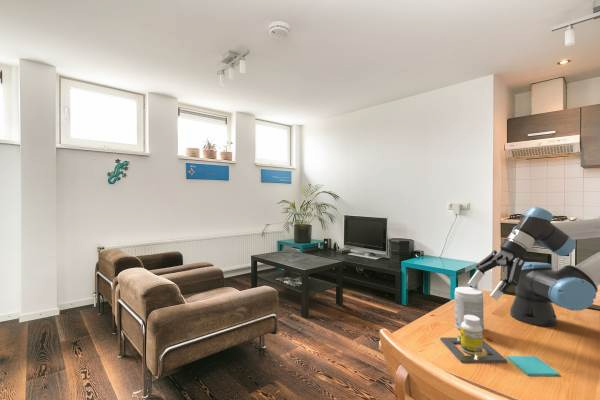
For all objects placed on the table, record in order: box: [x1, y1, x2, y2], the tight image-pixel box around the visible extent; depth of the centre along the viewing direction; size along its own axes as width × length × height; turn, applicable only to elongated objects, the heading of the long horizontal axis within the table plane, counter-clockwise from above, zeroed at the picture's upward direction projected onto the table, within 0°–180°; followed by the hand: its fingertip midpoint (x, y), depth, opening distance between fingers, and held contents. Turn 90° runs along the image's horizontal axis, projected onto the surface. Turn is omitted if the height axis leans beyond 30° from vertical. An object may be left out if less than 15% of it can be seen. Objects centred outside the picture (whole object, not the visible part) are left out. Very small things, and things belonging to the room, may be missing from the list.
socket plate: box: [439, 335, 508, 363], centre depth 99 cm, size 14×14×2 cm
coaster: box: [505, 355, 561, 377], centre depth 90 cm, size 9×9×1 cm
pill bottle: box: [460, 315, 484, 355], centre depth 99 cm, size 6×6×11 cm
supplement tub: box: [454, 286, 485, 331], centre depth 115 cm, size 10×10×15 cm
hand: (481, 291), depth 110 cm, fingers open, 13 cm apart
